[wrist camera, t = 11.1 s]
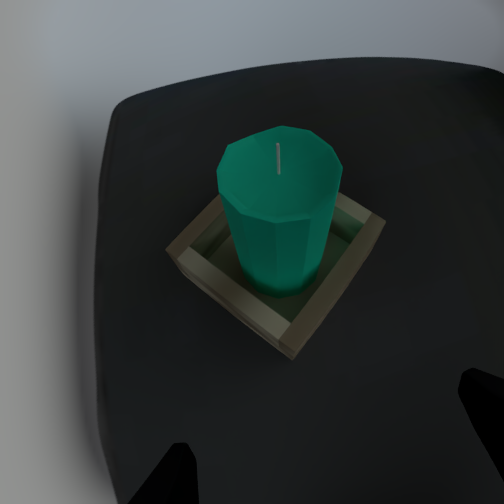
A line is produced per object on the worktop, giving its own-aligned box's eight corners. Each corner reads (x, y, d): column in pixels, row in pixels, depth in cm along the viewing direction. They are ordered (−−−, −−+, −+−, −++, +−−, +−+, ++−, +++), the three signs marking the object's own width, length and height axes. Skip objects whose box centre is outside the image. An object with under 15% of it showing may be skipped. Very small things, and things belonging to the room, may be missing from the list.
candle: (320, 227, 25) (340, 105, 14) (320, 300, 22) (353, 204, 11) (245, 224, 25) (220, 103, 15) (236, 296, 23) (196, 199, 12)
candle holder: (371, 250, 25) (386, 221, 20) (292, 360, 21) (294, 351, 17) (266, 185, 28) (264, 150, 24) (183, 274, 25) (165, 249, 21)
